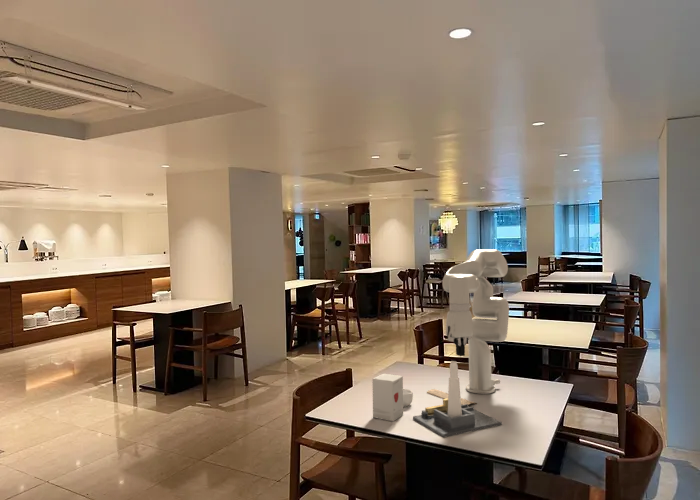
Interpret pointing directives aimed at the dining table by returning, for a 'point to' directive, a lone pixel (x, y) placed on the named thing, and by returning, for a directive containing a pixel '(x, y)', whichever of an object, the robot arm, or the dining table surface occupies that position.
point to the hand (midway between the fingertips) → (460, 355)
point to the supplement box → (387, 396)
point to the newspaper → (445, 396)
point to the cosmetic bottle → (454, 392)
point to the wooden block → (438, 407)
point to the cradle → (456, 421)
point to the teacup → (407, 397)
